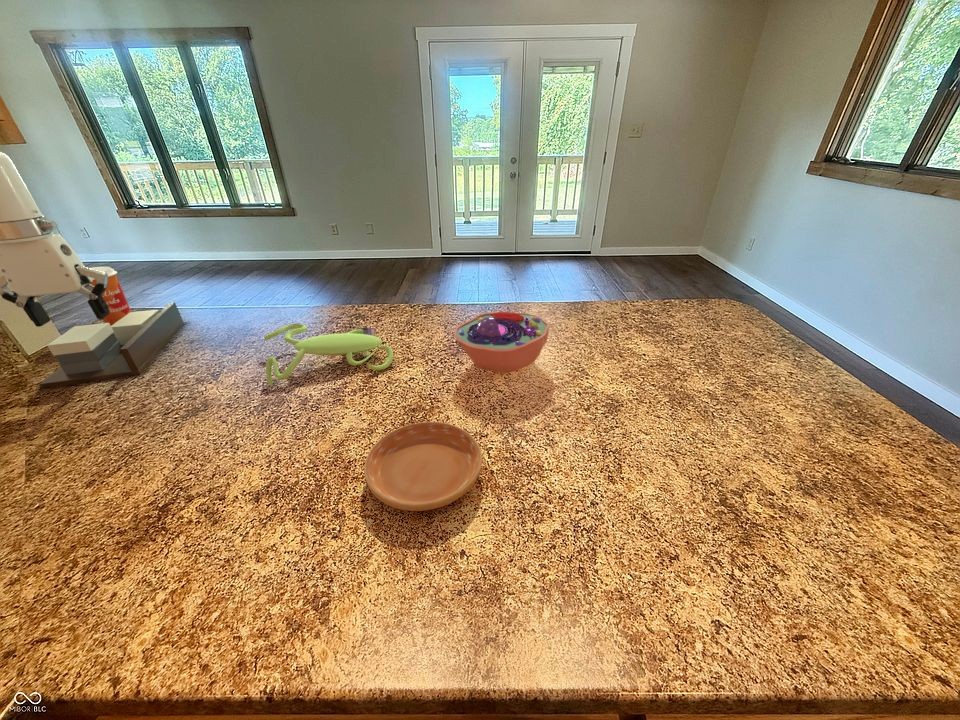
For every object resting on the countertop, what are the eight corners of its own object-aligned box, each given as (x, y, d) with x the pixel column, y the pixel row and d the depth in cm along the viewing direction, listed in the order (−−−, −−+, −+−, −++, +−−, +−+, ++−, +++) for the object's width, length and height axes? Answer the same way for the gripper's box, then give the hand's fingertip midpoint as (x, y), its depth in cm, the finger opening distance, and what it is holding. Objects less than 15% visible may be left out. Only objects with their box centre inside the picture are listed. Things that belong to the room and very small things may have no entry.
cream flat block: (53, 355, 73) (46, 345, 72) (79, 335, 80) (74, 326, 79) (91, 350, 74) (85, 340, 73) (114, 331, 82) (109, 322, 81)
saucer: (392, 429, 61) (390, 415, 60) (490, 440, 59) (490, 425, 58) (346, 512, 48) (341, 496, 46) (470, 531, 45) (469, 514, 44)
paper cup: (100, 332, 94) (69, 277, 87) (103, 321, 100) (74, 269, 93) (139, 324, 98) (113, 271, 91) (140, 314, 104) (115, 263, 97)
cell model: (565, 367, 78) (572, 317, 72) (484, 398, 69) (483, 343, 63) (516, 336, 90) (518, 291, 85) (441, 359, 81) (438, 310, 76)
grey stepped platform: (41, 388, 73) (22, 361, 70) (109, 332, 94) (97, 309, 91) (140, 374, 77) (126, 348, 74) (184, 323, 98) (174, 302, 95)
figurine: (274, 345, 87) (267, 322, 85) (391, 332, 93) (389, 311, 90) (251, 389, 72) (242, 363, 69) (394, 371, 77) (391, 347, 74)
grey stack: (64, 375, 75) (51, 356, 73) (89, 353, 82) (78, 335, 80) (103, 370, 76) (92, 351, 74) (125, 349, 84) (115, 331, 82)
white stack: (117, 345, 86) (108, 328, 83) (136, 328, 93) (127, 312, 91) (151, 341, 87) (143, 324, 85) (166, 325, 95) (159, 309, 93)
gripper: (91, 222, 71) (134, 307, 80) (-28, 230, 67) (32, 319, 76) (67, 230, 65) (117, 321, 74) (-65, 239, 61) (5, 335, 70)
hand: (74, 320), depth 75 cm, fingers open, 9 cm apart
